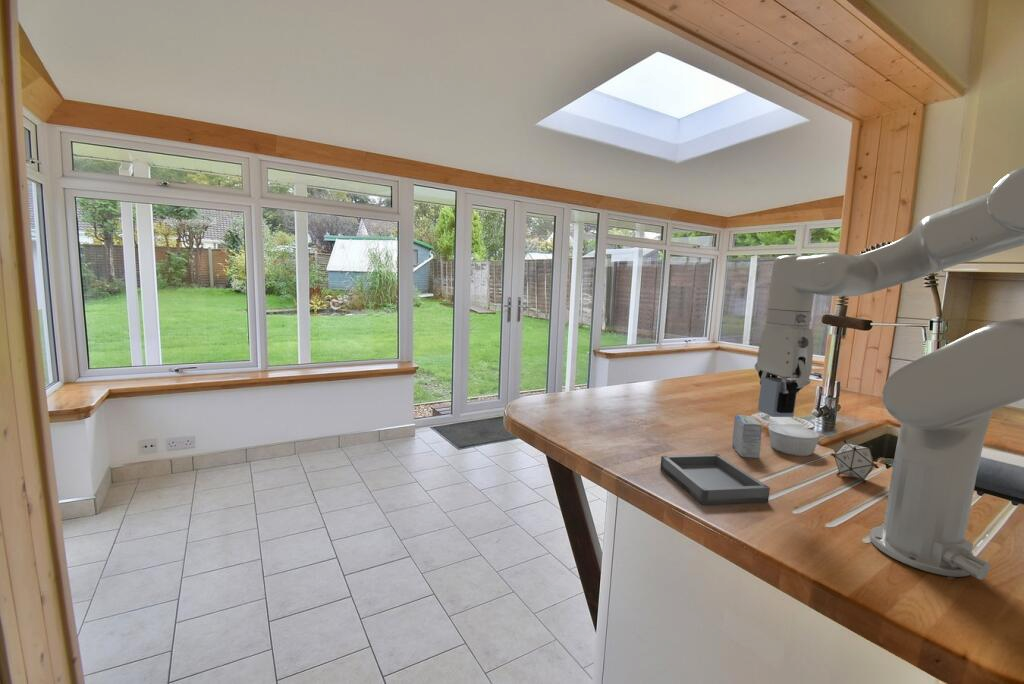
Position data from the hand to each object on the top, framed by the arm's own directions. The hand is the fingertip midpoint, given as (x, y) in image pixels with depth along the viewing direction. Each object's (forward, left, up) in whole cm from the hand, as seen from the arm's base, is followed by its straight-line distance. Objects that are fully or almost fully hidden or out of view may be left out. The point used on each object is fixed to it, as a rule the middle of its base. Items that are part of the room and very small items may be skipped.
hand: (775, 407), depth 92 cm
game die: (+4, -24, -18) cm, 30 cm away
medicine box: (+20, -9, -18) cm, 28 cm away
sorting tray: (+3, +11, -18) cm, 21 cm away
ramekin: (+21, -23, -18) cm, 36 cm away
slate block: (0, 0, -1) cm, 1 cm away
